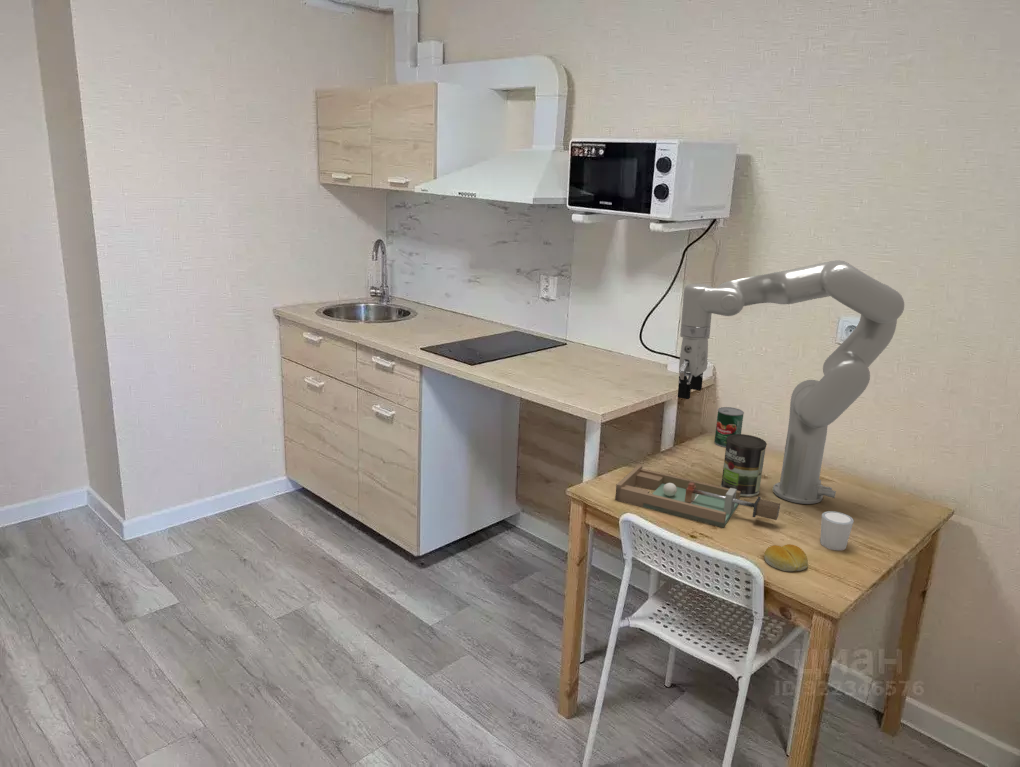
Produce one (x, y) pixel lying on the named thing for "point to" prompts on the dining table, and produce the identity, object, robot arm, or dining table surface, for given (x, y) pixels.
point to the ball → (669, 489)
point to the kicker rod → (739, 502)
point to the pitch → (677, 496)
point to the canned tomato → (728, 424)
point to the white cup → (835, 530)
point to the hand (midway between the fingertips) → (689, 393)
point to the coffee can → (743, 464)
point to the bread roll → (786, 557)
